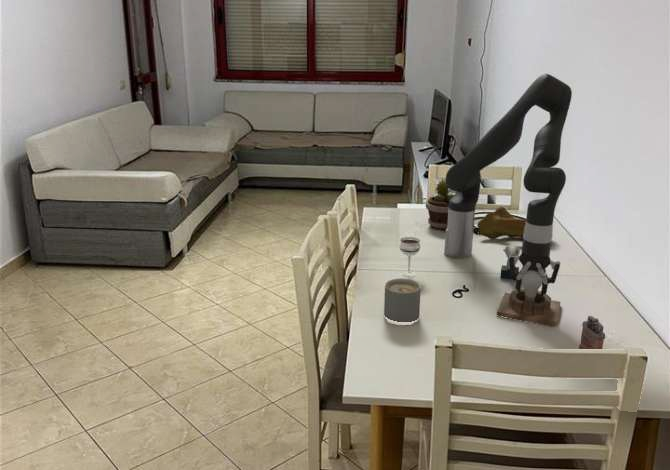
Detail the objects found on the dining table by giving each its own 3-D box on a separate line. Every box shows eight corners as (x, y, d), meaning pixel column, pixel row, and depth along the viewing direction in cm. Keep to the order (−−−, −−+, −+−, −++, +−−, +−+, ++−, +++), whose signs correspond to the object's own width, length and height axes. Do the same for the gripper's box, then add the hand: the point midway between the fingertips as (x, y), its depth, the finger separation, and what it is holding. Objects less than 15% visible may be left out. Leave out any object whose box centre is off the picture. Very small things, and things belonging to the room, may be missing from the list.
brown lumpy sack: (575, 347, 153) (580, 312, 149) (588, 346, 153) (593, 311, 150) (590, 364, 145) (596, 327, 142) (604, 363, 145) (610, 327, 142)
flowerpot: (464, 232, 237) (468, 184, 230) (426, 232, 237) (428, 184, 230) (458, 221, 251) (461, 175, 244) (421, 221, 251) (424, 175, 244)
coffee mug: (418, 327, 163) (420, 294, 160) (382, 324, 164) (383, 291, 161) (419, 305, 175) (421, 274, 172) (386, 303, 177) (387, 272, 174)
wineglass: (423, 273, 198) (424, 240, 194) (410, 280, 193) (412, 245, 189) (406, 268, 202) (407, 235, 198) (394, 274, 197) (395, 240, 193)
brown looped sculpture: (498, 208, 243) (552, 209, 229) (496, 239, 243) (550, 243, 229) (478, 204, 229) (534, 205, 215) (476, 237, 229) (531, 241, 215)
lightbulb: (541, 309, 168) (546, 273, 164) (519, 307, 169) (523, 271, 165) (539, 299, 173) (543, 265, 170) (517, 298, 175) (521, 263, 171)
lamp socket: (496, 316, 169) (497, 302, 167) (504, 296, 181) (505, 283, 179) (555, 327, 163) (557, 312, 161) (559, 306, 175) (561, 292, 173)
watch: (518, 273, 198) (522, 242, 194) (517, 283, 191) (520, 251, 187) (501, 271, 200) (504, 240, 196) (499, 280, 192) (502, 249, 189)
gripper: (508, 238, 164) (503, 293, 170) (563, 245, 158) (556, 302, 164) (512, 230, 170) (507, 283, 176) (565, 237, 165) (558, 292, 170)
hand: (530, 292), depth 170 cm, fingers closed on lightbulb, 6 cm apart
